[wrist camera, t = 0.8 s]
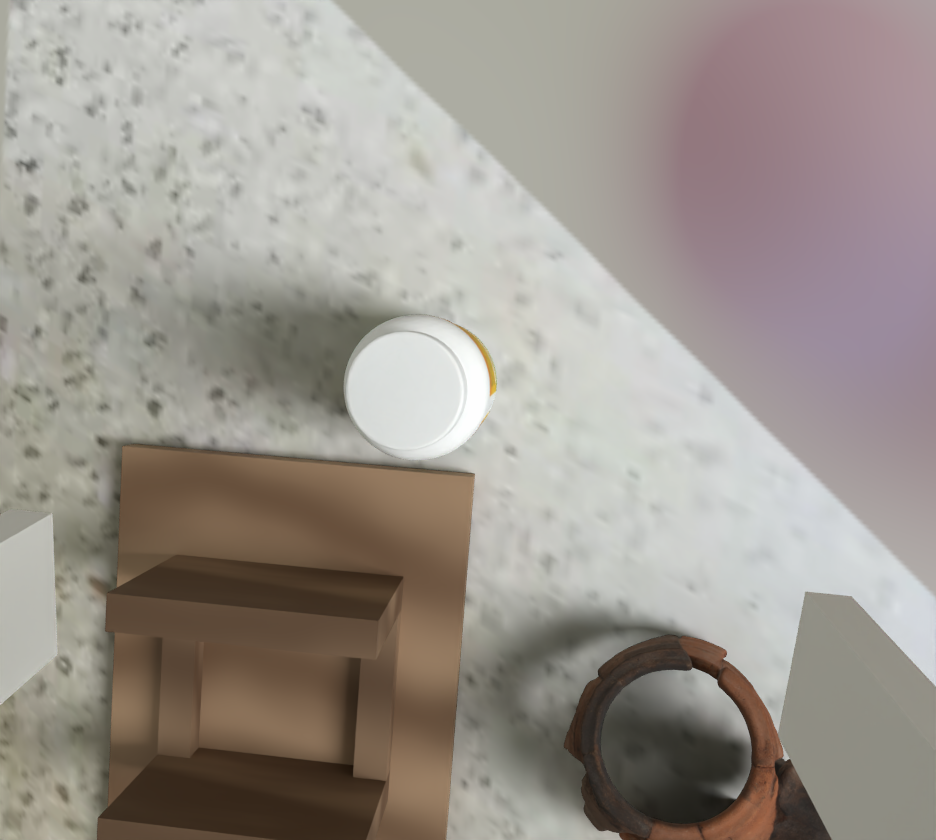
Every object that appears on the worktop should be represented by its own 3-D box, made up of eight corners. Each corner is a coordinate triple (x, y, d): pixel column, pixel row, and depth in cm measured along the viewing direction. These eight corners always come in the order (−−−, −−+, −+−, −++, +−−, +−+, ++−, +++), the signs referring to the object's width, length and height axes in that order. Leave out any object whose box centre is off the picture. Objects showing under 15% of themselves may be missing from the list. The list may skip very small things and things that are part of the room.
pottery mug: (559, 828, 38) (533, 836, 30) (604, 631, 41) (590, 595, 34) (833, 923, 34) (879, 958, 26) (858, 697, 37) (905, 673, 30)
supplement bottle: (399, 305, 36) (350, 286, 26) (513, 343, 35) (507, 338, 26) (363, 419, 36) (302, 442, 27) (475, 457, 36) (455, 493, 26)
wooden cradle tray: (441, 891, 38) (422, 1012, 31) (116, 850, 39) (25, 958, 32) (474, 473, 36) (461, 501, 29) (133, 443, 37) (41, 463, 30)
